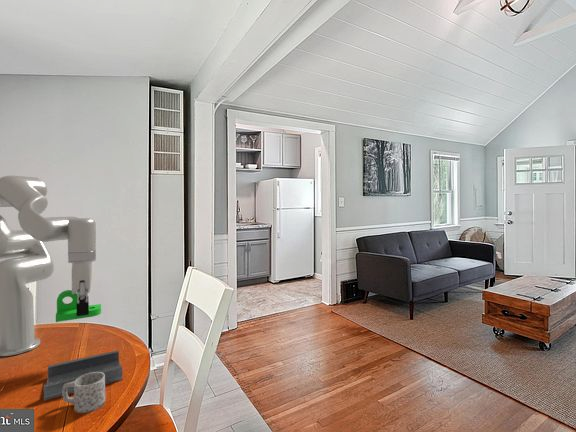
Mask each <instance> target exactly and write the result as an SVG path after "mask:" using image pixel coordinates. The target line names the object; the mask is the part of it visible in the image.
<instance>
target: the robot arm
mask: <svg viewBox="0 0 576 432" xmlns="http://www.w3.org/2000/svg"><path fill="white" fill-rule="evenodd" d="M47 193H48V187H47V184H46V183H45V182H44V181H43V180H42V179H41V178H38V177H33V176H22V175H19V176H18V175H5V176H1V177H0V208H7V207H8V208H12V207H13V208H14V209H15V210H16V211H18V214H17V219H18V223H19V226H20V228H21V230H14V229H12V228H11V227H10V226H9V223H8V221H7V220H6V219H5V217H3V216H2V215H1V214H0V260H1V261H0V357H9V356H11V357H12V356H17V355H19V354H23V353H26V352H29V351H31V350H34V349H35V348H37V347H38V346H40V345H41V339H40V338H39V337H35V318H34V317H35V316H34V315H35V314H34V312H35V311H34V308H35V307H34V295H33V292H32V291H31V290H30V289H29V288H28V287H27V286H26V285H27V284H29V283H34V282H35V283H36V282H39V281H43V280H46V279H48V278H50V277H51V276H52V275H53V273H54V269H55V267H54V266H55V265H54V262H53V259H52V257H51V256H50V254H49V252H48V250H47V247H46V246H45V244H44V243H47V242H55V241H56V242H57V241H66V240H67V263H68V264H71V290H72V294H73V295H74V294H76V293H77V303H76V308H77V316H82V315H88V314H89V306H90V303H89V295H88V294H90V292H91V287H92V270H93V269H92V266H93V265H92V264H93V263H92V262H96V260H97V251H96V250H97V247H96V246H97V243H96V242H97V241H96V239H97V238H96V237H97V236H96V235H97V234H96V232H97V231H96V230H97V229H96V221H95V219H94V218H90V217H89V218H88V217H87V218H85V217H84V218H83V217H76V216H55V217H54V216H51V217H44V216H42V215H41V214H42V213H44V211H46V209H47V207H48V203H49V202H48V198H47V197H46V196H47ZM3 259H4V260H3Z"/></svg>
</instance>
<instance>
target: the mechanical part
mask: <svg viewBox="0 0 576 432" xmlns="http://www.w3.org/2000/svg"><path fill="white" fill-rule="evenodd" d="M65 298H71V299H72V301H70V302H69V303H65V302H64V301H63V300H64V299H65ZM76 303H77V293H76V294H74V295H73V294H72V289H66V290H64V291H62V292H60V293H59V294H58V296H57V299H56V312H55V313H56V314H55V322H56V323H58V322H59V323H60V322H65V321H72V320H81V319H86V318H87V319H88V318H93V317H96V316H99V315H101V313H102V304H101V303H99V304H91V305H90V304H89V314H88V315H82V316H77V308H76Z"/></svg>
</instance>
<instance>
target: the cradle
mask: <svg viewBox="0 0 576 432" xmlns="http://www.w3.org/2000/svg"><path fill="white" fill-rule="evenodd" d="M119 353H120V351H119V350H118V349H115V350H112V351H109V352H108V351H107V352H104V353H103V352H102V353H99V354H95V355H91V356H90V355H89V356H86V357H85V356H84V357H80V358H75V359H71V360H67V361H63V362H59V363H54V364H49V365H48V366H47V381H46V383H45V384H43V401H47V400H52V399H55V398H59V397H63V396H62V390H63V385H64V384H66V383H69V382H73V381H75V380H76V379H77V378H78V377H80V376H82V375H85V374H88V373H92V372H102V373H104V374H105V385H108V384H111V383H115V382H119V381H122V380H123V378H124V377H123V366H122V365H121V363H120V354H119ZM67 394H68V395H70V394H74V388H71V387H68V388H67Z"/></svg>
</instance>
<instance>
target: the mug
mask: <svg viewBox="0 0 576 432" xmlns="http://www.w3.org/2000/svg"><path fill="white" fill-rule="evenodd" d="M68 387H71V388H74V393H73V397H71V396H69V394H67V388H68ZM61 397H62V400H63V402H65V403H69V404H72V405H73V406H74V407H73V409H74V411H75V412H76V414H87V413H91V412H94V411H96V410H98V409H100V408H101V407H103V406H104V405H105V403H106V384H105V374H104V373H102V372H92V373H88V374H85V375H82V376H80V377H78V378H77V379H76V380H75V381H73V382H69V383H66V384H64V385H63V390H62V396H61Z"/></svg>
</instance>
